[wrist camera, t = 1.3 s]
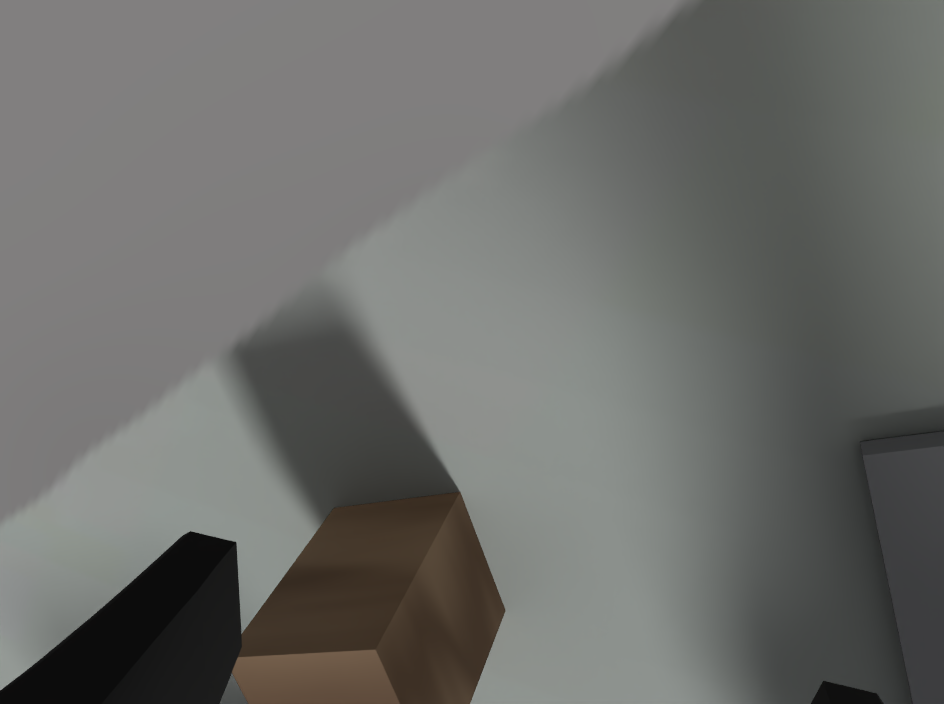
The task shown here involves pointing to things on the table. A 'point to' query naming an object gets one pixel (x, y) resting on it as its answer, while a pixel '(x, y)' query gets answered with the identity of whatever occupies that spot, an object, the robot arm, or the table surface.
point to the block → (377, 611)
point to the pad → (913, 549)
